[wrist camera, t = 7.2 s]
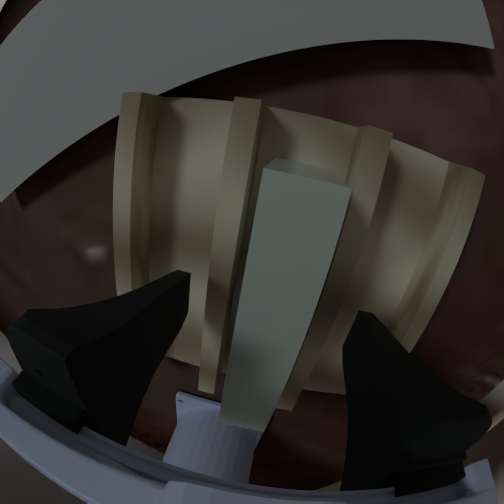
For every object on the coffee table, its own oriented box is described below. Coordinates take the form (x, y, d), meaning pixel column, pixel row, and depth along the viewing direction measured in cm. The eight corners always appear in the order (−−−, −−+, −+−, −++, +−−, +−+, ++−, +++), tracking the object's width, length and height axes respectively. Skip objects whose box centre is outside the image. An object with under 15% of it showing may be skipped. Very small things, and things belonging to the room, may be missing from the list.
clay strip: (273, 365, 16) (264, 431, 12) (236, 357, 16) (217, 421, 12) (329, 169, 11) (351, 188, 7) (275, 157, 12) (263, 168, 7)
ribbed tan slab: (363, 386, 17) (368, 417, 15) (140, 336, 19) (121, 362, 16) (460, 169, 11) (492, 179, 8) (146, 98, 12) (113, 93, 9)
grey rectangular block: (449, 45, 10) (404, -71, 4) (494, 49, 6) (434, -92, 1) (35, 175, 18) (-1, 89, 12) (1, 202, 14) (-39, 105, 9)
